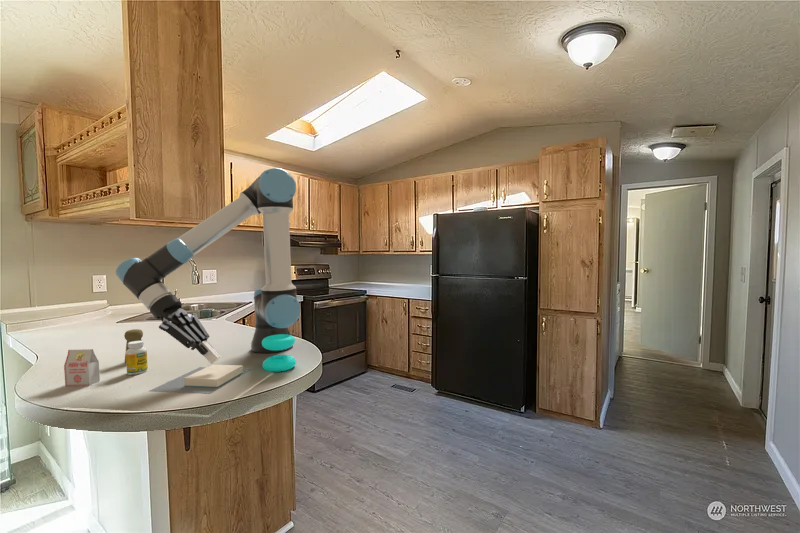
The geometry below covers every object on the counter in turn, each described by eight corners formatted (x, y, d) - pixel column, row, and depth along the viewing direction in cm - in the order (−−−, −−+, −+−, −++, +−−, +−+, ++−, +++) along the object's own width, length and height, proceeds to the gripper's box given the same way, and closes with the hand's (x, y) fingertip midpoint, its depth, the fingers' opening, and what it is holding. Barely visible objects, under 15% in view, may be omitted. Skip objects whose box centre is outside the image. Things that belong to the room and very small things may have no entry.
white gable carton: (76, 381, 108) (74, 348, 108) (99, 381, 108) (97, 347, 108) (65, 386, 105) (63, 351, 104) (89, 386, 105) (87, 351, 104)
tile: (183, 378, 101) (217, 379, 100) (212, 364, 113) (242, 365, 112) (184, 386, 101) (217, 387, 100) (212, 372, 113) (242, 373, 112)
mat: (148, 392, 99) (148, 391, 99) (200, 368, 118) (200, 367, 118) (210, 395, 96) (210, 393, 96) (252, 370, 116) (252, 368, 116)
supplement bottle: (136, 369, 119) (135, 339, 118) (152, 369, 118) (150, 339, 118) (122, 375, 113) (120, 344, 113) (138, 375, 113) (136, 344, 112)
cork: (134, 364, 124) (132, 332, 124) (119, 363, 125) (117, 331, 125) (150, 359, 130) (148, 328, 130) (135, 358, 131) (134, 327, 131)
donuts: (255, 340, 113) (271, 333, 123) (256, 372, 113) (272, 362, 123) (286, 341, 111) (300, 333, 121) (287, 373, 112) (301, 363, 122)
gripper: (170, 307, 115) (222, 362, 113) (134, 315, 102) (192, 377, 100) (185, 290, 114) (237, 345, 112) (150, 296, 101) (209, 358, 99)
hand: (216, 360), depth 106 cm, fingers closed
